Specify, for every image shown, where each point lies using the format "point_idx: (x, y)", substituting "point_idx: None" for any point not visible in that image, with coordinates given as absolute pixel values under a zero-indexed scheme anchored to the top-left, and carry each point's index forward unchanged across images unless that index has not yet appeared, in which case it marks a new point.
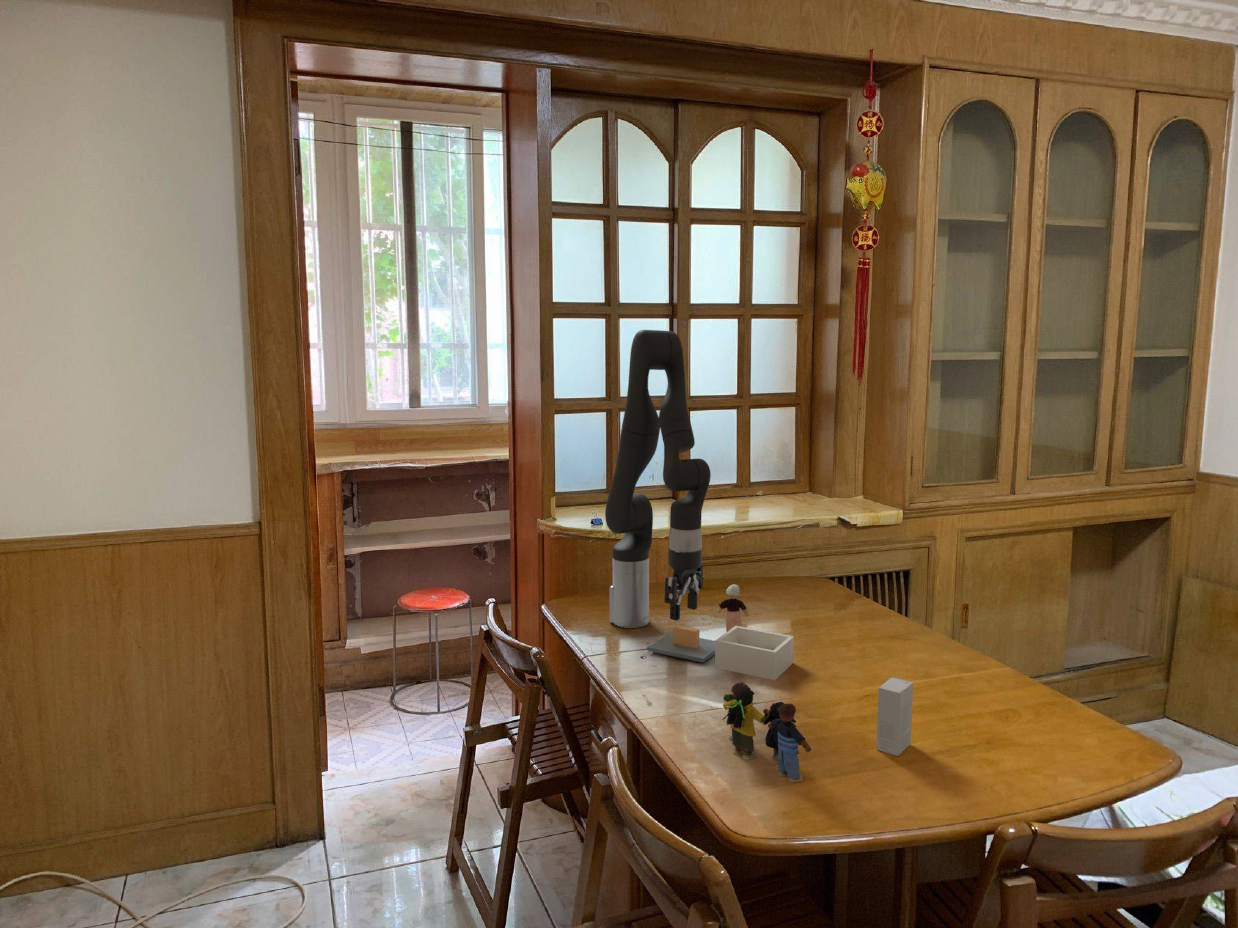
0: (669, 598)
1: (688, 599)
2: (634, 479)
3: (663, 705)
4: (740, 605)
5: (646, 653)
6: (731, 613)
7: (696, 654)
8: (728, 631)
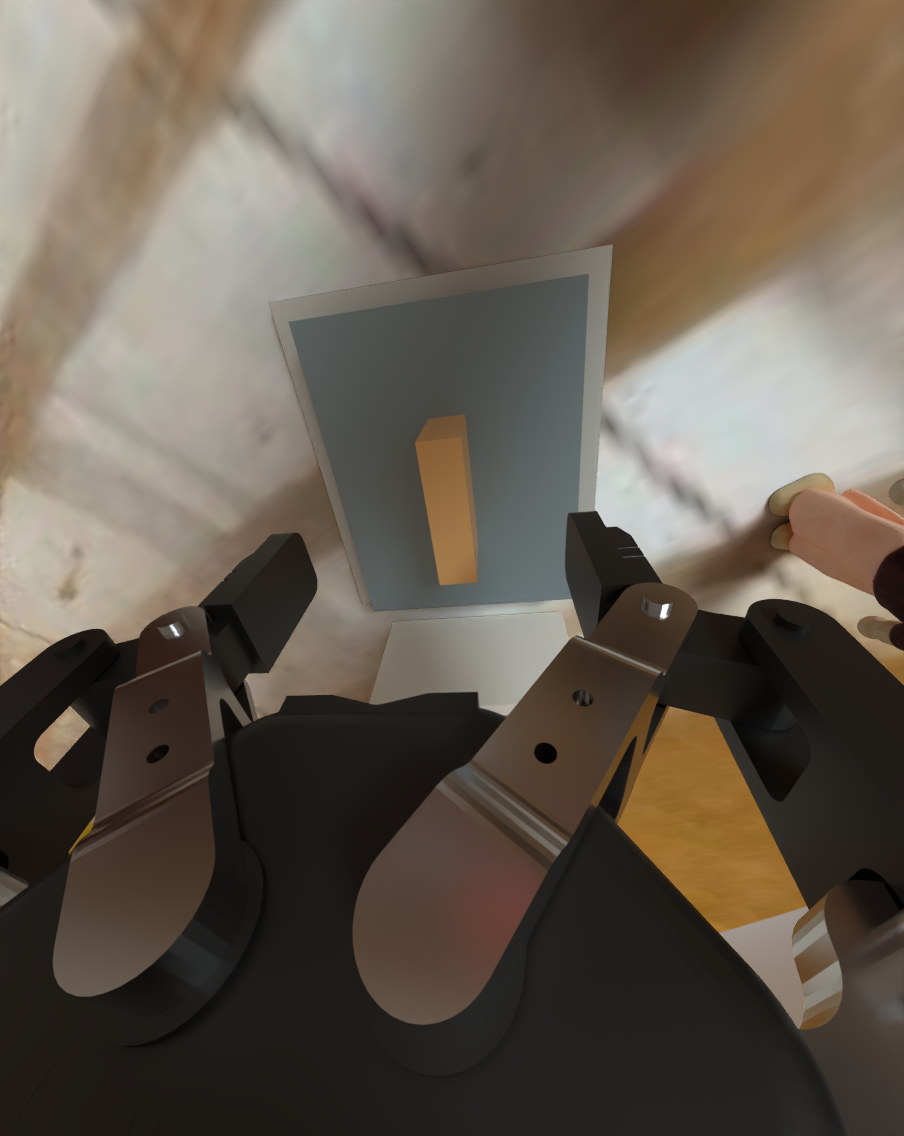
0: (72, 706)
1: (584, 555)
2: None
3: (101, 624)
4: None
5: (313, 309)
6: (866, 569)
7: (390, 573)
8: (497, 706)
